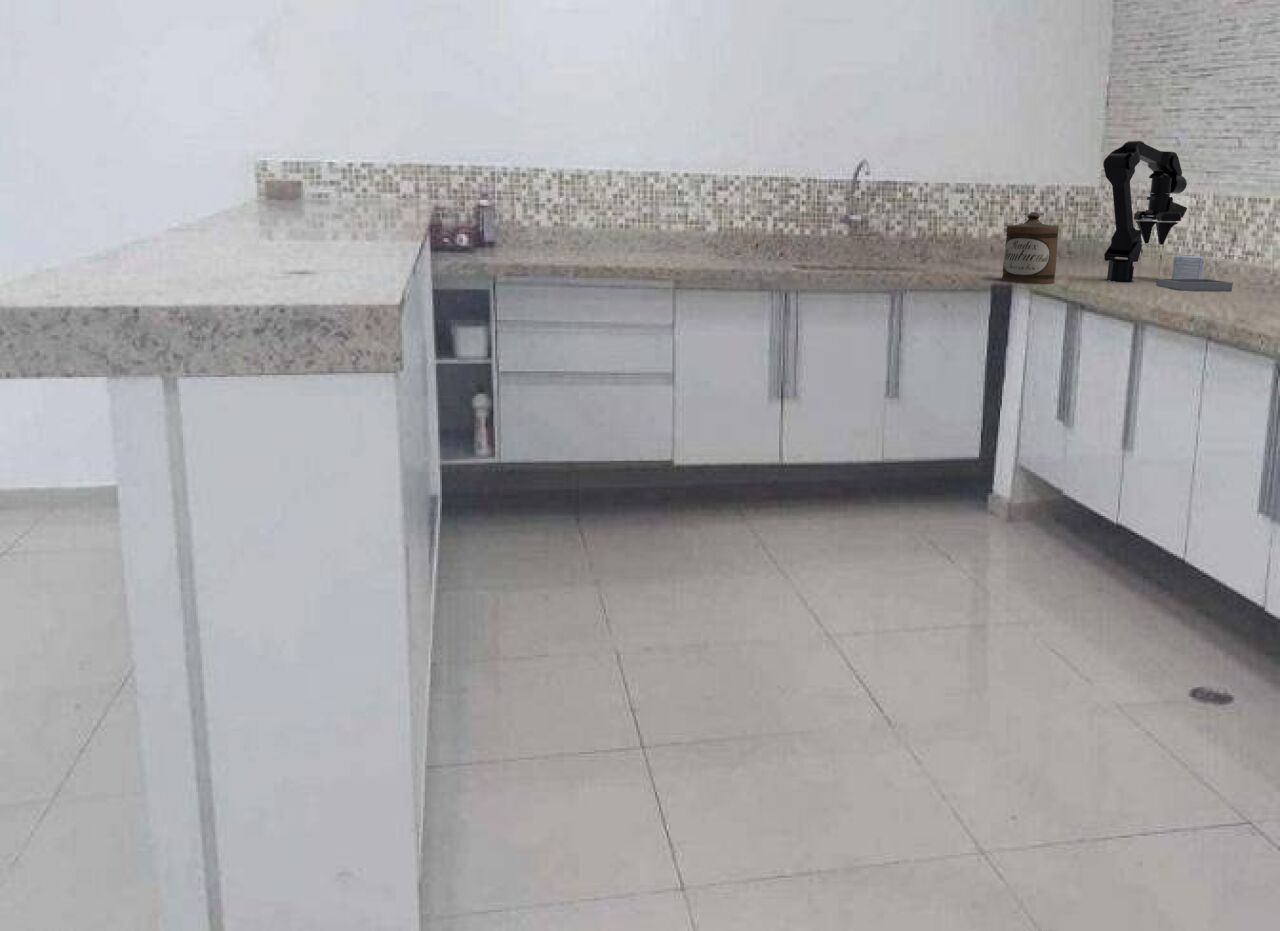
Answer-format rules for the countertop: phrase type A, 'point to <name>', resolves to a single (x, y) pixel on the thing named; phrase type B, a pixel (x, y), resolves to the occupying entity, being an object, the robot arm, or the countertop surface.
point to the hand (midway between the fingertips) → (1153, 244)
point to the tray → (1195, 284)
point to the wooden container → (1031, 252)
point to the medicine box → (1187, 267)
